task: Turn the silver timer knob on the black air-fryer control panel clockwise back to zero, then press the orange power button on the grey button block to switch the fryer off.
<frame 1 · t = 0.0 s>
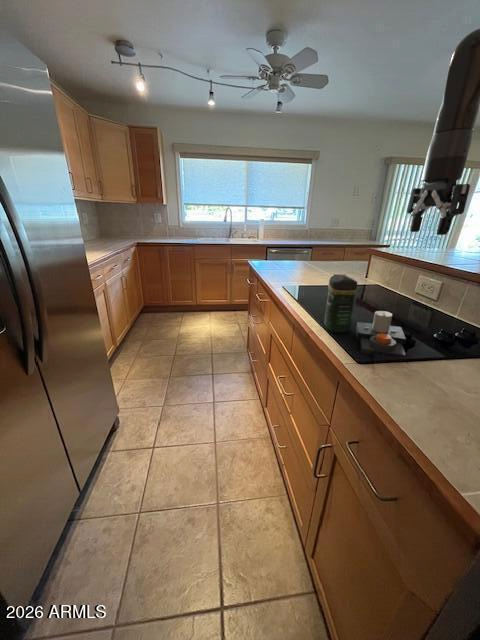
hand: (427, 233, 65), 33 cm above the counter, tool pointing down, fingers open, 8 cm apart
power button: (383, 338, 75), point 4 cm above the counter, slide at 0.1 cm
fryer panel: (378, 338, 84), on the counter
timer knob: (381, 321, 81), point 6 cm above the counter, hinge at 90.0°
power block: (380, 350, 77), on the counter
coffee jar: (336, 328, 91), on the counter
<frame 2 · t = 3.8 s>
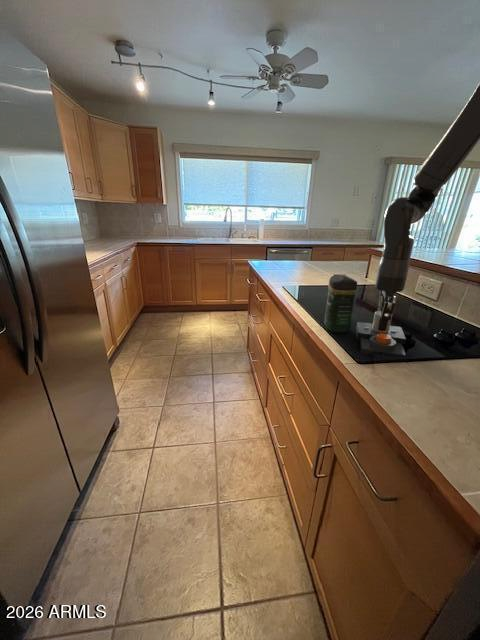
hand: (380, 326, 82), 4 cm above the counter, tool pointing down, fingers closed on timer knob, 5 cm apart
timer knob: (381, 321, 81), point 6 cm above the counter, hinge at 90.4°, touching gripper
everything else where it was.
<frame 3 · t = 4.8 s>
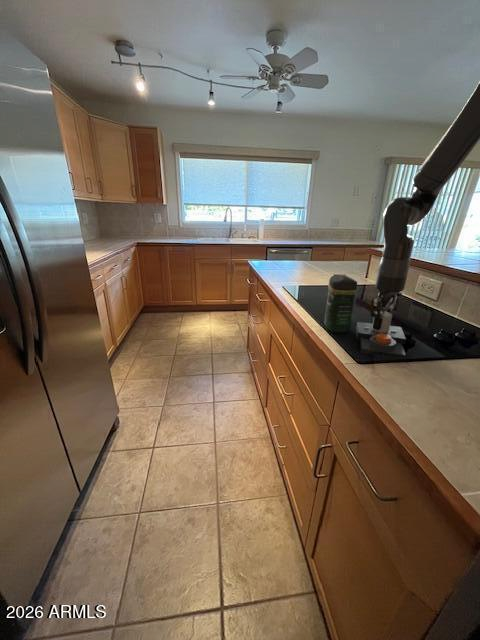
hand: (380, 326, 82), 4 cm above the counter, tool pointing down, fingers closed on timer knob, 5 cm apart
timer knob: (381, 321, 81), point 6 cm above the counter, hinge at 57.3°, touching gripper
everything else where it was.
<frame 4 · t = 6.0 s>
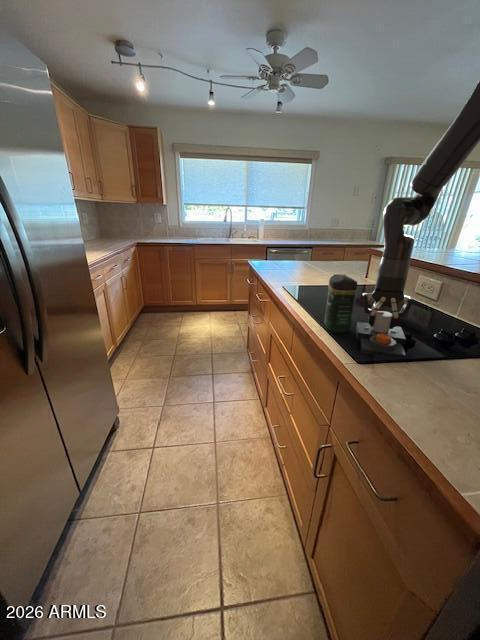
hand: (380, 326, 82), 4 cm above the counter, tool pointing down, fingers closed on timer knob, 5 cm apart
timer knob: (381, 321, 81), point 6 cm above the counter, hinge at -3.0°, touching gripper
everything else where it was.
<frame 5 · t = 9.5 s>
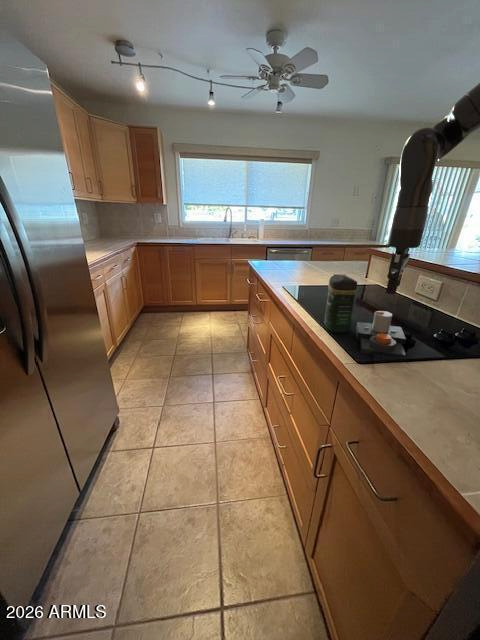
hand: (392, 289, 71), 18 cm above the counter, tool pointing down, fingers open, 8 cm apart
timer knob: (381, 321, 81), point 6 cm above the counter, hinge at -2.5°
everything else where it was.
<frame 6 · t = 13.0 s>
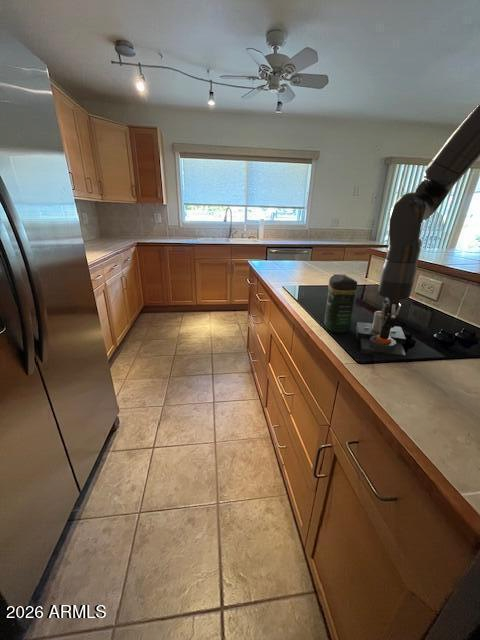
hand: (383, 337, 75), 5 cm above the counter, tool pointing down, fingers closed
power button: (383, 339, 75), point 4 cm above the counter, slide at -0.2 cm, touching gripper
everything else where it was.
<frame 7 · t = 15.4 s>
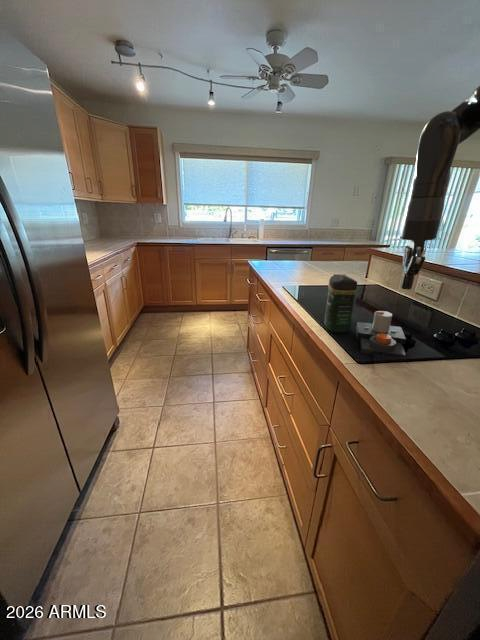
hand: (405, 288, 69), 19 cm above the counter, tool pointing down, fingers closed
power button: (383, 338, 75), point 4 cm above the counter, slide at 0.1 cm
everything else where it was.
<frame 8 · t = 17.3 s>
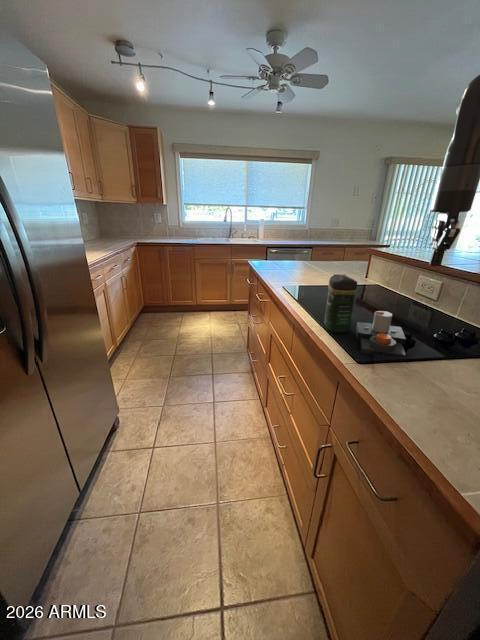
hand: (434, 265, 66), 25 cm above the counter, tool pointing down, fingers closed
nothing on the counter moved.
at the end: timer knob at -2° (first picture: +90°); power button pushed in 1.1 cm at the most during the clip, back to where it started at the end; power button slide at 0.1 cm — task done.
